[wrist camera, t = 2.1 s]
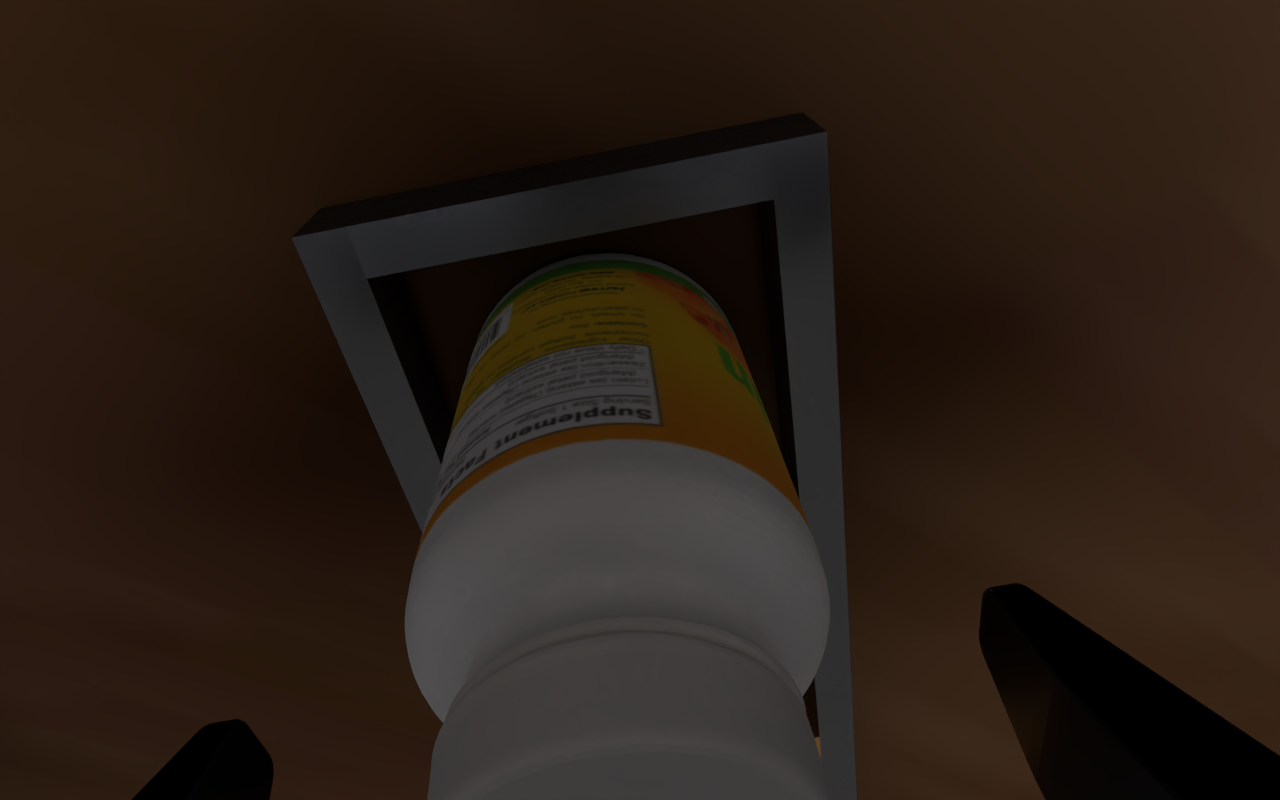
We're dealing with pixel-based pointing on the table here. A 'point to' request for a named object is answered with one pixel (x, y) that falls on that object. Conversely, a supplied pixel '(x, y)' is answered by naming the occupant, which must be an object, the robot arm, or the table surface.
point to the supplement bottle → (616, 557)
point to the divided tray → (592, 204)
